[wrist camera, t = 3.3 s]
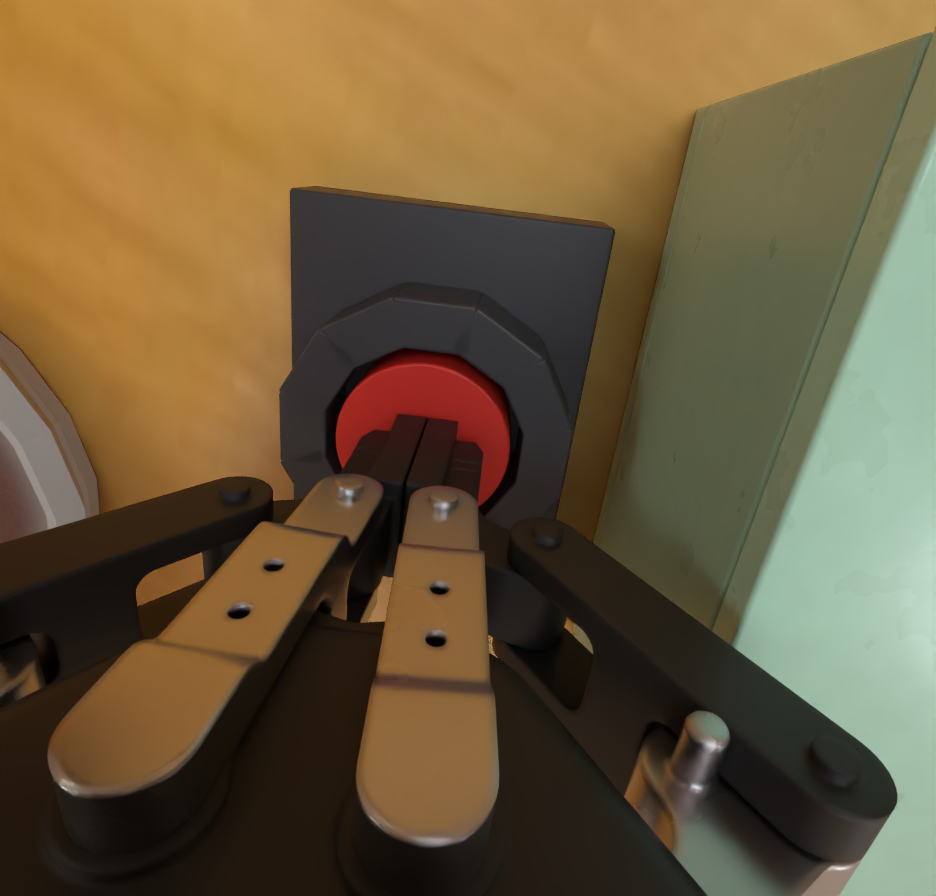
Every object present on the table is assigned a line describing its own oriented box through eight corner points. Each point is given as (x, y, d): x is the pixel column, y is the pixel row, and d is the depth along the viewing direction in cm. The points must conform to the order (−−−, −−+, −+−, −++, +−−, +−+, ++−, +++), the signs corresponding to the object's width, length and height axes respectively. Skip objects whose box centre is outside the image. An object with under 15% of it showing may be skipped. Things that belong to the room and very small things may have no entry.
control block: (313, 185, 16) (257, 190, 13) (605, 222, 16) (630, 237, 13) (313, 525, 21) (270, 598, 17) (539, 555, 21) (544, 636, 17)
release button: (354, 333, 16) (335, 351, 14) (521, 355, 16) (522, 376, 14) (349, 480, 18) (332, 511, 16) (499, 500, 17) (497, 533, 16)
